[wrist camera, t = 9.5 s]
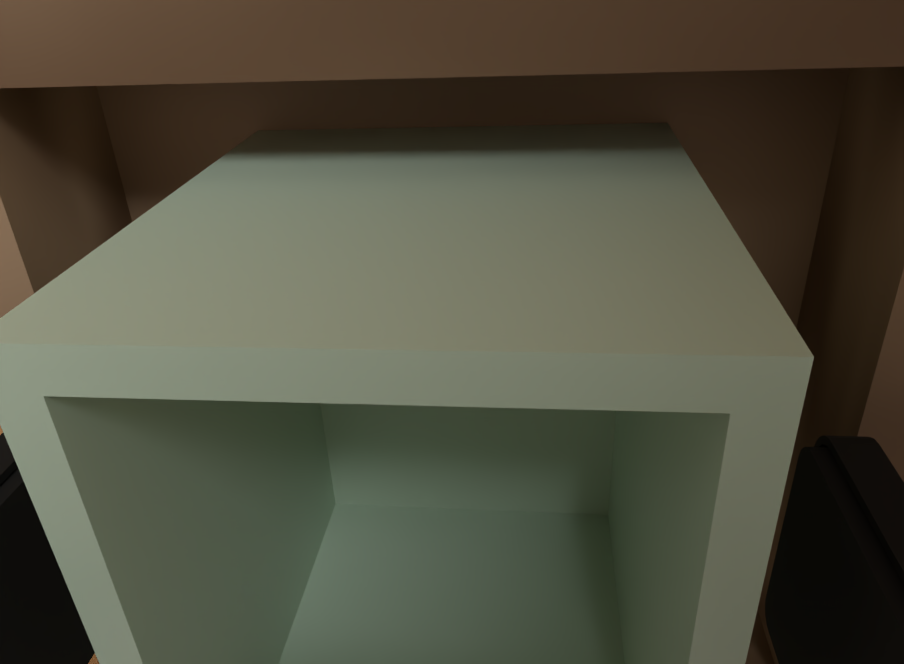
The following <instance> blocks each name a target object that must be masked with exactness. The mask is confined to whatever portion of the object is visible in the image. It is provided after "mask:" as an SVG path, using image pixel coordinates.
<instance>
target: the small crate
mask: <svg viewBox="0 0 904 664" xmlns="http://www.w3.org/2000/svg"><path fill="white" fill-rule="evenodd" d="M813 359H814V356H813V354H812V353H811V351H810V350H809V348H808V346H807V345H806V343H805V342H804V340H803V339H802V337H801V335H800V334H799V332H798V331H797V329H796V327H795V326H794V324H793V323H792V321H791V319H790V318H789V316H788V315H787V313H786V311H785V310H784V308H783V307H782V305H781V303H780V302H779V300H778V299H777V297H776V295H775V294H774V292H773V291H772V289H771V287H770V286H769V284H768V283H767V281H766V279H765V278H764V276H763V275H762V273H761V271H760V270H759V268H758V267H757V265H756V263H755V262H754V260H753V259H752V257H751V255H750V254H749V252H748V251H747V249H746V247H745V246H744V244H743V243H742V241H741V239H740V238H739V236H738V235H737V233H736V232H735V230H734V228H733V227H732V225H731V224H730V222H729V220H728V219H727V217H726V216H725V214H724V212H723V211H722V209H721V208H720V206H719V204H718V203H717V201H716V200H715V198H714V196H713V195H712V193H711V192H710V190H709V188H708V187H707V185H706V184H705V182H704V180H703V179H702V177H701V176H700V174H699V172H698V171H697V169H696V168H695V166H694V164H693V163H692V161H691V160H690V158H689V156H688V155H687V153H686V152H685V150H684V148H683V147H682V145H681V144H680V142H679V140H678V139H677V137H676V136H675V134H674V132H673V131H672V129H671V128H670V126H669V125H668V123H626V124H573V125H520V126H466V127H413V128H360V129H307V130H258V131H257V132H255V133H254V134H253V135H251V136H250V137H249V138H247V139H246V140H244V141H243V142H242V143H240V144H239V145H238V146H236V147H235V148H233V149H232V150H231V151H229V152H228V153H227V154H225V155H224V156H222V157H221V158H220V159H218V160H217V161H216V162H214V163H213V164H211V165H210V166H209V167H207V168H206V169H205V170H203V171H202V172H200V173H199V174H198V175H196V176H195V177H194V178H192V179H191V180H189V181H188V182H187V183H185V184H184V185H183V186H181V187H180V188H178V189H177V190H176V191H174V192H173V193H172V194H170V195H169V196H167V197H166V198H165V199H163V200H162V201H161V202H159V203H158V204H156V205H155V206H154V207H152V208H151V209H150V210H148V211H147V212H145V213H144V214H143V215H141V216H140V217H139V218H137V219H136V220H134V221H133V222H132V223H130V224H129V225H128V226H126V227H125V228H123V229H122V230H121V231H119V232H118V233H117V234H115V235H114V236H113V237H111V238H110V239H108V240H107V241H106V242H104V243H103V244H102V245H100V246H99V247H97V248H96V249H95V250H93V251H92V252H91V253H89V254H88V255H86V256H85V257H84V258H82V259H81V260H80V261H78V262H77V263H75V264H74V265H73V266H71V267H70V268H69V269H67V270H66V271H64V272H63V273H62V274H60V275H59V276H58V277H56V278H55V279H53V280H52V281H51V282H49V283H48V284H47V285H45V286H44V287H42V288H41V289H40V290H38V291H37V292H36V293H34V294H33V295H31V296H30V297H29V298H27V299H26V300H25V301H23V302H22V303H20V304H19V305H18V306H16V307H15V308H14V309H12V310H11V311H9V312H8V313H7V314H5V315H4V316H3V317H1V318H0V425H1V428H2V430H3V433H4V435H5V437H6V440H7V442H8V445H9V447H10V449H11V452H12V454H13V457H14V459H15V462H16V464H17V466H18V469H19V471H20V474H21V476H22V478H23V481H24V483H25V486H26V488H27V490H28V493H29V495H30V498H31V500H32V502H33V505H34V507H35V510H36V512H37V514H38V517H39V519H40V522H41V524H42V526H43V529H44V531H45V534H46V536H47V539H48V541H49V543H50V546H51V548H52V551H53V553H54V555H55V558H56V560H57V563H58V565H59V567H60V570H61V572H62V575H63V577H64V579H65V582H66V584H67V587H68V589H69V591H70V594H71V596H72V599H73V601H74V604H75V606H76V608H77V611H78V613H79V616H80V618H81V620H82V623H83V625H84V628H85V630H86V632H87V635H88V637H89V640H90V642H91V644H92V647H93V649H94V652H95V654H96V656H97V659H98V661H99V664H745V663H746V658H747V654H748V649H749V645H750V640H751V636H752V631H753V627H754V623H755V618H756V614H757V609H758V605H759V600H760V596H761V591H762V587H763V582H764V578H765V573H766V569H767V564H768V560H769V556H770V551H771V547H772V542H773V538H774V533H775V529H776V524H777V520H778V515H779V511H780V506H781V502H782V498H783V493H784V489H785V484H786V480H787V475H788V471H789V466H790V462H791V457H792V453H793V448H794V444H795V440H796V435H797V431H798V426H799V422H800V417H801V413H802V408H803V404H804V399H805V395H806V390H807V386H808V382H809V377H810V373H811V368H812V364H813Z"/></svg>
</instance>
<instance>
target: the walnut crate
mask: <svg viewBox="0 0 904 664" xmlns="http://www.w3.org/2000/svg"><path fill="white" fill-rule="evenodd" d="M626 123H668V125H669V126H670V128H671V129H672V131H673V132H674V134H675V136H676V137H677V139H678V140H679V142H680V144H681V145H682V147H683V148H684V150H685V152H686V153H687V155H688V156H689V158H690V160H691V161H692V163H693V164H694V166H695V168H696V169H697V171H698V172H699V174H700V176H701V177H702V179H703V180H704V182H705V184H706V185H707V187H708V188H709V190H710V192H711V193H712V195H713V196H714V198H715V200H716V201H717V203H718V204H719V206H720V208H721V209H722V211H723V212H724V214H725V216H726V217H727V219H728V220H729V222H730V224H731V225H732V227H733V228H734V230H735V232H736V233H737V235H738V236H739V238H740V239H741V241H742V243H743V244H744V246H745V247H746V249H747V251H748V252H749V254H750V255H751V257H752V259H753V260H754V262H755V263H756V265H757V267H758V268H759V270H760V271H761V273H762V275H763V276H764V278H765V279H766V281H767V283H768V284H769V286H770V287H771V289H772V291H773V292H774V294H775V295H776V297H777V299H778V300H779V302H780V303H781V305H782V307H783V308H784V310H785V311H786V313H787V315H788V316H789V318H790V319H791V321H792V323H793V324H794V326H795V327H796V329H797V331H798V332H799V334H800V335H801V337H802V339H803V340H804V342H805V343H806V345H807V346H808V348H809V350H810V351H811V353H812V354H813V356H814V359H813V364H812V368H811V373H810V377H809V382H808V386H807V390H806V395H805V399H804V404H803V408H802V413H801V417H800V422H799V426H798V431H797V435H796V440H795V444H794V448H793V453H792V457H791V462H790V466H789V471H788V475H787V480H786V484H785V489H784V493H783V498H782V502H781V506H780V511H779V515H778V520H777V524H776V529H775V533H774V538H773V542H772V547H771V551H770V556H769V560H768V564H767V569H766V573H765V578H764V582H763V587H762V591H761V596H760V600H759V605H758V609H757V614H756V618H755V623H754V627H753V631H752V636H751V640H750V645H749V649H748V654H747V658H746V663H745V664H779V663H778V660H777V657H776V654H775V651H774V647H773V644H772V641H771V638H770V635H769V632H768V628H767V624H766V618H765V599H766V594H767V590H768V585H769V581H770V577H771V573H772V568H773V564H774V560H775V555H776V551H777V547H778V542H779V538H780V534H781V530H782V525H783V521H784V517H785V512H786V508H787V504H788V500H789V495H790V491H791V487H792V482H793V478H794V474H795V469H796V465H797V461H798V457H799V454H800V451H801V449H802V448H803V447H814V445H815V443H816V441H817V439H818V438H819V437H820V436H823V435H828V436H862V437H871V438H874V439H875V440H876V441H877V442H878V443H879V445H880V446H881V448H882V449H883V451H884V452H885V454H886V455H887V457H888V458H889V460H890V462H891V463H892V465H893V466H894V468H895V469H896V471H897V472H898V474H899V476H900V477H901V479H902V480H903V482H904V0H0V318H1V317H3V316H4V315H5V314H7V313H8V312H9V311H11V310H12V309H14V308H15V307H16V306H18V305H19V304H20V303H22V302H23V301H25V300H26V299H27V298H29V297H30V296H31V295H33V294H34V293H36V292H37V291H38V290H40V289H41V288H42V287H44V286H45V285H47V284H48V283H49V282H51V281H52V280H53V279H55V278H56V277H58V276H59V275H60V274H62V273H63V272H64V271H66V270H67V269H69V268H70V267H71V266H73V265H74V264H75V263H77V262H78V261H80V260H81V259H82V258H84V257H85V256H86V255H88V254H89V253H91V252H92V251H93V250H95V249H96V248H97V247H99V246H100V245H102V244H103V243H104V242H106V241H107V240H108V239H110V238H111V237H113V236H114V235H115V234H117V233H118V232H119V231H121V230H122V229H123V228H125V227H126V226H128V225H129V224H130V223H132V222H133V221H134V220H136V219H137V218H139V217H140V216H141V215H143V214H144V213H145V212H147V211H148V210H150V209H151V208H152V207H154V206H155V205H156V204H158V203H159V202H161V201H162V200H163V199H165V198H166V197H167V196H169V195H170V194H172V193H173V192H174V191H176V190H177V189H178V188H180V187H181V186H183V185H184V184H185V183H187V182H188V181H189V180H191V179H192V178H194V177H195V176H196V175H198V174H199V173H200V172H202V171H203V170H205V169H206V168H207V167H209V166H210V165H211V164H213V163H214V162H216V161H217V160H218V159H220V158H221V157H222V156H224V155H225V154H227V153H228V152H229V151H231V150H232V149H233V148H235V147H236V146H238V145H239V144H240V143H242V142H243V141H244V140H246V139H247V138H249V137H250V136H251V135H253V134H254V133H255V132H257V131H258V130H307V129H360V128H413V127H466V126H520V125H573V124H626Z"/></svg>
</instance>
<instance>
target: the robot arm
mask: <svg viewBox="0 0 904 664" xmlns="http://www.w3.org/2000/svg"><path fill="white" fill-rule="evenodd" d="M765 618H766V624H767V628H768V632H769V635H770V638H771V641H772V644H773V647H774V651H775V654H776V657H777V660H778V663H779V664H904V482H903V480H902V479H901V477H900V476H899V474H898V472H897V471H896V469H895V468H894V466H893V465H892V463H891V462H890V460H889V458H888V457H887V455H886V454H885V452H884V451H883V449H882V448H881V446H880V445H879V443H878V442H877V441H876V440H875V439H874V438H871V437H862V436H828V435H823V436H820V437H819V438H818V439H817V441H816V443H815V445H814V447H803V448H802V449H801V451H800V454H799V457H798V461H797V465H796V469H795V474H794V478H793V482H792V487H791V491H790V495H789V500H788V504H787V508H786V512H785V517H784V521H783V525H782V530H781V534H780V538H779V542H778V547H777V551H776V555H775V560H774V564H773V568H772V573H771V577H770V581H769V585H768V590H767V594H766V599H765ZM94 653H95V652H94V649H93V647H92V644H91V642H90V640H89V637H88V635H87V632H86V630H85V628H84V625H83V623H82V620H81V618H80V616H79V613H78V611H77V608H76V606H75V604H74V601H73V599H72V596H71V594H70V591H69V589H68V587H67V584H66V582H65V579H64V577H63V575H62V572H61V570H60V567H59V565H58V563H57V560H56V558H55V555H54V553H53V551H52V548H51V546H50V543H49V541H48V539H47V536H46V534H45V531H44V529H43V526H42V524H41V522H40V519H39V517H38V514H37V512H36V510H35V507H34V505H33V502H32V500H31V498H30V495H29V493H28V490H27V488H26V486H25V483H24V481H23V478H22V476H21V474H20V471H19V469H18V466H17V464H16V462H15V459H14V457H13V454H12V452H11V449H10V447H9V445H8V442H7V440H6V437H5V435H4V433H2V434H1V435H0V664H88V663H89V661H90V659H91V658H92V656H93V654H94Z"/></svg>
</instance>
